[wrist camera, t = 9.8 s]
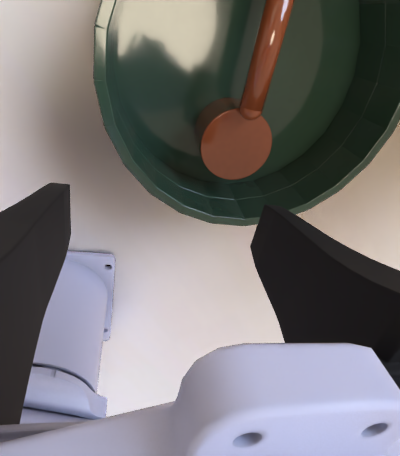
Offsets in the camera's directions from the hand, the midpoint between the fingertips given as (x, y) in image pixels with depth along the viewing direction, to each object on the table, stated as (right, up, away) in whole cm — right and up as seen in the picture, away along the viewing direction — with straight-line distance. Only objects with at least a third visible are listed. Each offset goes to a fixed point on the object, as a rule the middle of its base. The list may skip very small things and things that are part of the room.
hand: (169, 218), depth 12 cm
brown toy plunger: (+3, +8, +6) cm, 11 cm away
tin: (+3, +9, +6) cm, 11 cm away
